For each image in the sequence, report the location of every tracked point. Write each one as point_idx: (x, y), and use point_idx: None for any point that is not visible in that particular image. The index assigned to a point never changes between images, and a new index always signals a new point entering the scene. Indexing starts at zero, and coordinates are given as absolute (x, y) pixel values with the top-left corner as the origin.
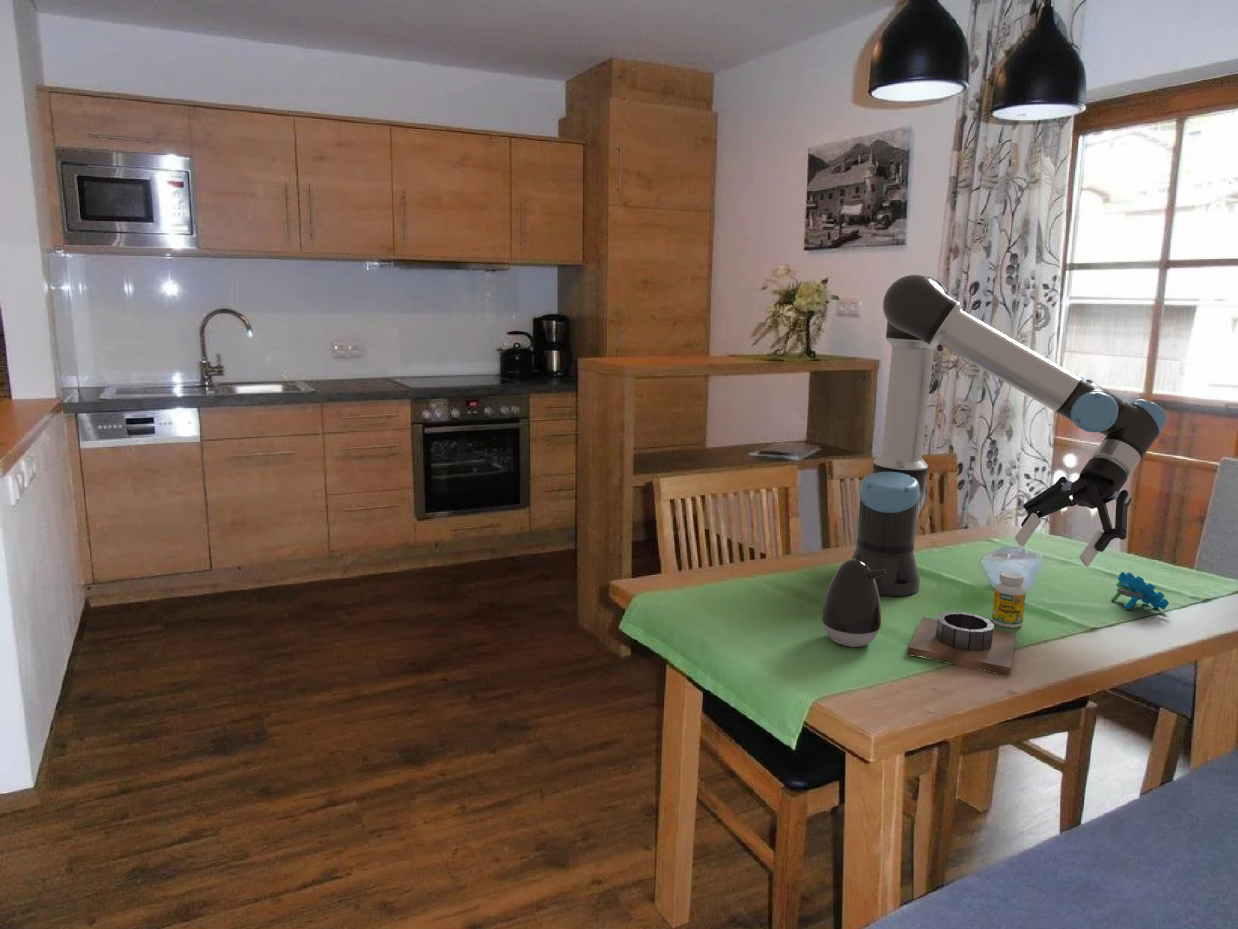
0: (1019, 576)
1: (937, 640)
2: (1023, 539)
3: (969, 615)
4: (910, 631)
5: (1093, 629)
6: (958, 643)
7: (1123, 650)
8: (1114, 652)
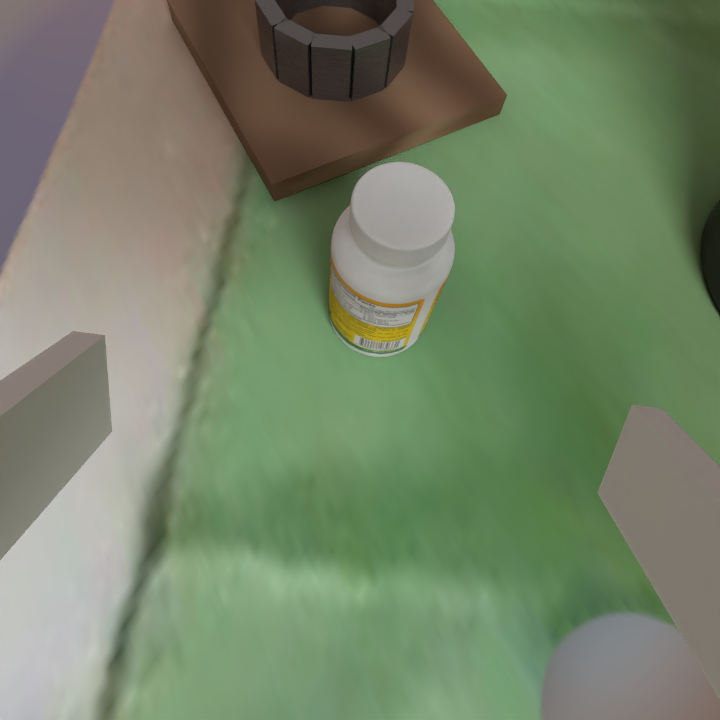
0: (370, 211)
1: None
2: (627, 476)
3: (359, 33)
4: None
5: (153, 528)
6: None
7: None
8: None
